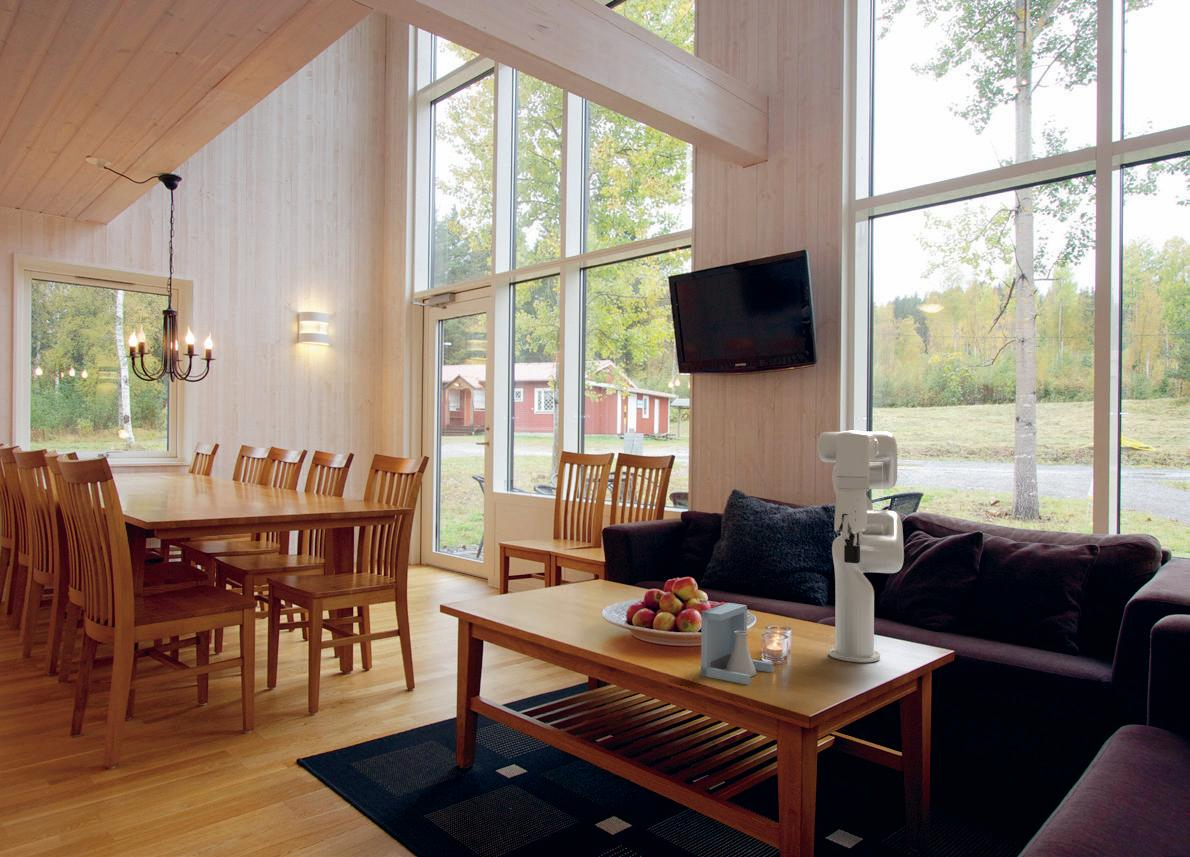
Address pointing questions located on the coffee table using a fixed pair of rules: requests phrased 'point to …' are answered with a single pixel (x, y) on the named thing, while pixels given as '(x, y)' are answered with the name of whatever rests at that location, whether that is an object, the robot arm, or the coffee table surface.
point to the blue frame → (724, 642)
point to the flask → (741, 656)
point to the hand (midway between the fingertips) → (852, 562)
